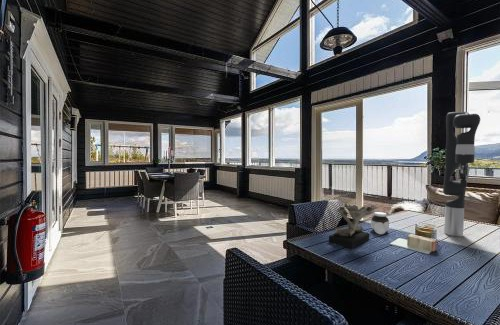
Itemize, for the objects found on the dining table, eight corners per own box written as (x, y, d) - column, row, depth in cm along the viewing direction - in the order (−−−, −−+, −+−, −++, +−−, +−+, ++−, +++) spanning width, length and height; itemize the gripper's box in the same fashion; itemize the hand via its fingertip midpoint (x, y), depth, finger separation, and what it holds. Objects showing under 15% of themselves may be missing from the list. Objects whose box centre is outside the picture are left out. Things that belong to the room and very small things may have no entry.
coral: (349, 232, 163) (350, 198, 162) (383, 241, 148) (384, 204, 147) (327, 241, 146) (328, 204, 145) (363, 252, 131) (364, 210, 130)
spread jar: (382, 229, 172) (383, 211, 171) (395, 234, 160) (395, 215, 160) (366, 229, 169) (366, 212, 169) (377, 235, 158) (378, 216, 158)
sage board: (398, 238, 152) (399, 237, 152) (435, 247, 139) (435, 246, 139) (389, 244, 143) (389, 243, 143) (428, 254, 130) (428, 253, 130)
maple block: (436, 249, 135) (410, 243, 144) (436, 239, 135) (410, 234, 144) (433, 251, 132) (407, 245, 141) (434, 241, 132) (407, 236, 140)
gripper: (458, 153, 140) (456, 185, 141) (452, 153, 131) (451, 187, 132) (476, 153, 135) (474, 186, 136) (472, 153, 126) (470, 189, 127)
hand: (463, 187), depth 134 cm, fingers closed
